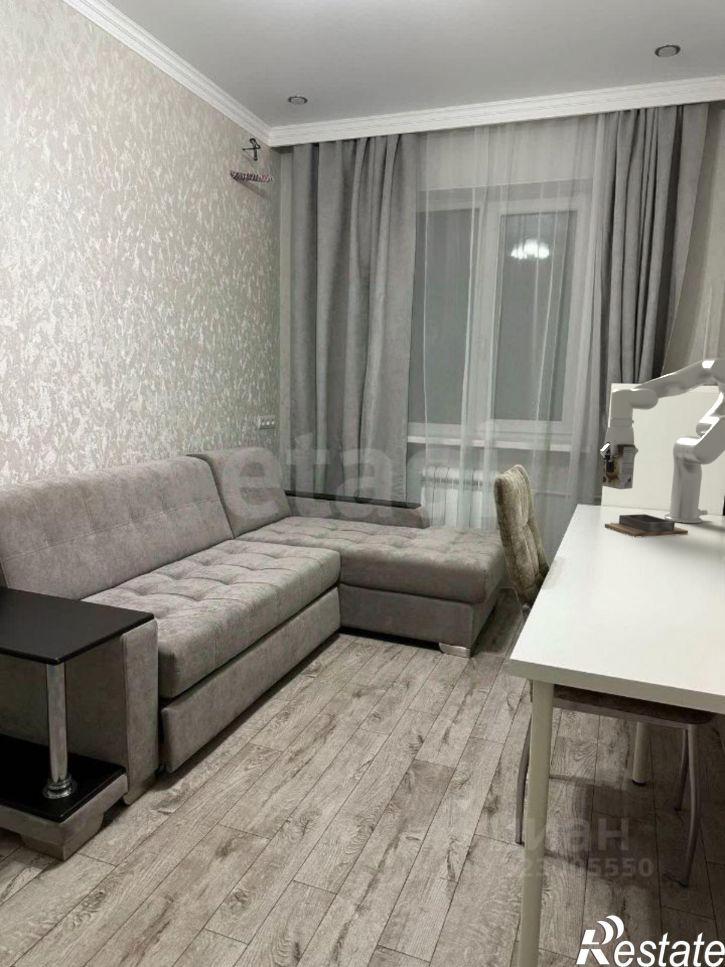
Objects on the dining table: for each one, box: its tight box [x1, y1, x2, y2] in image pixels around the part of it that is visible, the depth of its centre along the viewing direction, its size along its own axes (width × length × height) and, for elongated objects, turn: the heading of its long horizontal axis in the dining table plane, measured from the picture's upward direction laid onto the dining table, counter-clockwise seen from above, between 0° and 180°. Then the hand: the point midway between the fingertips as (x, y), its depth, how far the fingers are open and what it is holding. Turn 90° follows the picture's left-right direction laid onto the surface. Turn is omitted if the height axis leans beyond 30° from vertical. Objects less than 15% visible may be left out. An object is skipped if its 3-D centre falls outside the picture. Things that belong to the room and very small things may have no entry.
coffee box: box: [602, 444, 636, 490], centre depth 240 cm, size 9×6×16 cm
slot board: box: [604, 513, 689, 538], centre depth 225 cm, size 22×15×4 cm
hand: (618, 471), depth 240 cm, fingers closed on coffee box, 6 cm apart
